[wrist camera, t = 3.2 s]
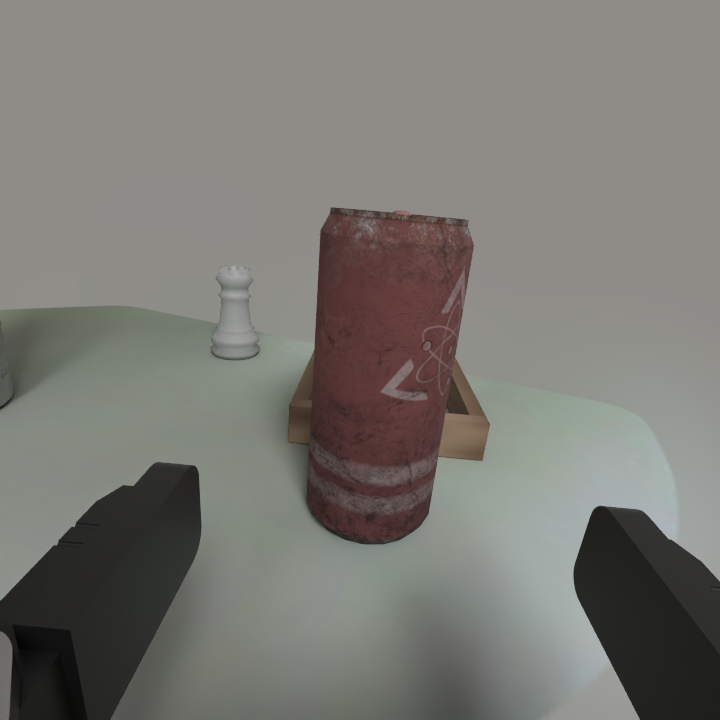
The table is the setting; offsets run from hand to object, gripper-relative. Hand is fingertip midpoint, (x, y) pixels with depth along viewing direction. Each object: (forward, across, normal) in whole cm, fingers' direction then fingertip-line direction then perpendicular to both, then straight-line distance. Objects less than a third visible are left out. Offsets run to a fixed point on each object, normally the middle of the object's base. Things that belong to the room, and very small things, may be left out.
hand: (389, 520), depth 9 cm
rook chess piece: (+31, +13, +8) cm, 34 cm away
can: (+11, 0, +8) cm, 14 cm away
